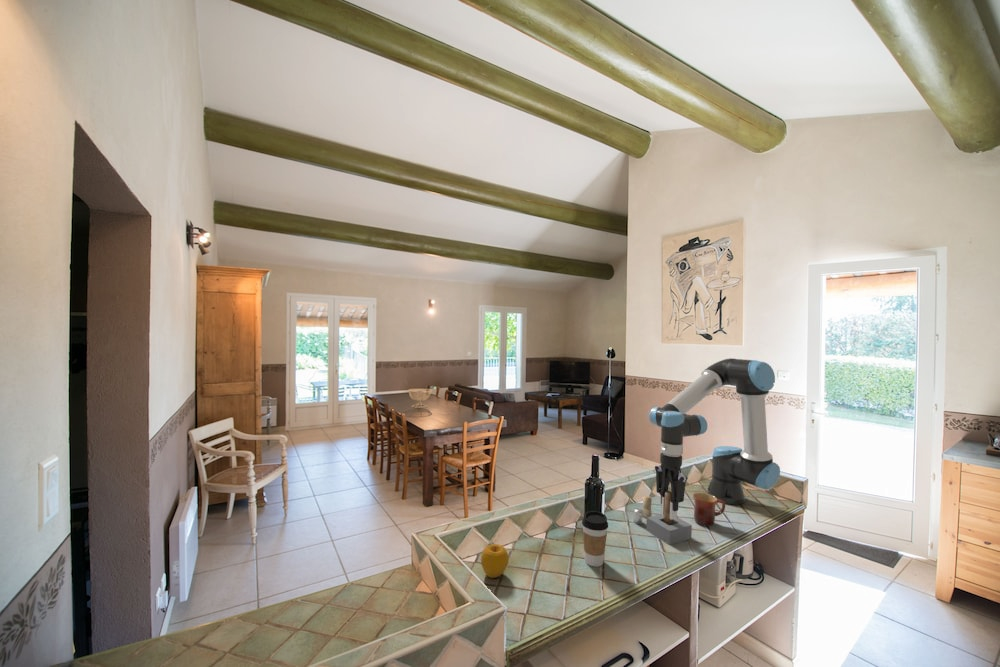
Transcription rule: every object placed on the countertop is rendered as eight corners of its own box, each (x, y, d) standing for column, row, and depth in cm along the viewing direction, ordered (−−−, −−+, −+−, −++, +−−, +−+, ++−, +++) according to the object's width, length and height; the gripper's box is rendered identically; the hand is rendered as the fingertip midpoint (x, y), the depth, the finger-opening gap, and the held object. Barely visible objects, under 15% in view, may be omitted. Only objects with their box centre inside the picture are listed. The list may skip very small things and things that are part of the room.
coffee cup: (608, 557, 139) (609, 513, 139) (605, 571, 131) (607, 524, 131) (582, 552, 142) (584, 508, 141) (579, 565, 134) (580, 519, 133)
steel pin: (638, 520, 166) (638, 507, 166) (644, 523, 163) (644, 511, 163) (631, 521, 165) (632, 509, 165) (637, 525, 162) (638, 512, 162)
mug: (696, 527, 161) (697, 501, 161) (688, 516, 170) (689, 492, 170) (729, 529, 160) (730, 503, 160) (719, 518, 169) (720, 493, 169)
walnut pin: (668, 527, 157) (669, 490, 157) (674, 531, 154) (676, 493, 154) (661, 528, 156) (663, 491, 156) (668, 532, 153) (669, 495, 153)
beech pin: (646, 514, 171) (647, 495, 171) (652, 517, 168) (653, 498, 168) (640, 515, 170) (641, 496, 170) (646, 519, 167) (647, 499, 167)
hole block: (667, 525, 163) (668, 512, 162) (691, 538, 153) (691, 525, 153) (646, 530, 158) (646, 517, 158) (669, 544, 148) (669, 530, 148)
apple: (499, 587, 122) (499, 557, 122) (474, 578, 126) (475, 549, 126) (512, 572, 129) (513, 544, 129) (489, 564, 134) (489, 537, 133)
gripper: (647, 448, 160) (645, 508, 161) (681, 461, 146) (679, 528, 146) (661, 446, 163) (659, 505, 164) (697, 459, 149) (694, 524, 149)
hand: (668, 516), depth 155 cm, fingers closed on walnut pin, 3 cm apart
